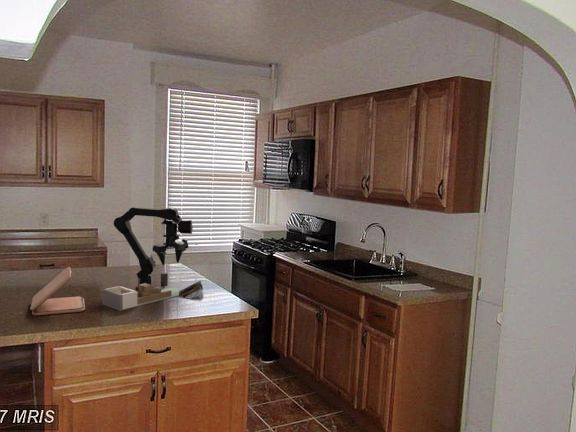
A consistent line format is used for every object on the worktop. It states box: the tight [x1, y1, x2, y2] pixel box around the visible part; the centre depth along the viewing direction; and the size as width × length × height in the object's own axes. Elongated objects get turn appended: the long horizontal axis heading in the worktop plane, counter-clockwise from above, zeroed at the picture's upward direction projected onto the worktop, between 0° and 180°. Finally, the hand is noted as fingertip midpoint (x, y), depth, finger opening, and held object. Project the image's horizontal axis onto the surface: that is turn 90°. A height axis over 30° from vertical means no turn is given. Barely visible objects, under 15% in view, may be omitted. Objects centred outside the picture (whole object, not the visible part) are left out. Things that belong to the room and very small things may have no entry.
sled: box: [138, 272, 169, 298], centre depth 234 cm, size 5×15×10 cm, turn 144°
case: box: [29, 266, 86, 316], centre depth 212 cm, size 20×21×16 cm
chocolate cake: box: [179, 280, 204, 299], centre depth 238 cm, size 10×7×12 cm
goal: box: [101, 285, 138, 311], centre depth 219 cm, size 13×9×6 cm
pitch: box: [102, 287, 181, 312], centre depth 232 cm, size 13×40×3 cm, turn 144°
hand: (170, 263), depth 248 cm, fingers open, 9 cm apart
